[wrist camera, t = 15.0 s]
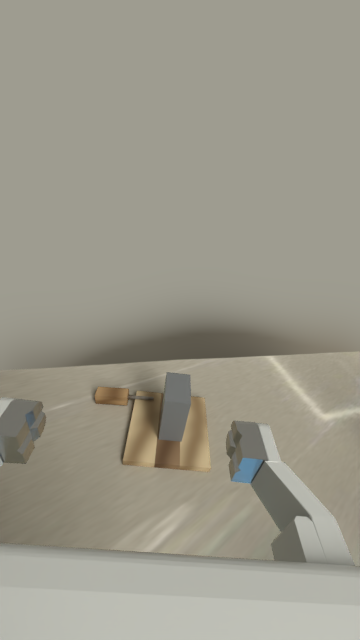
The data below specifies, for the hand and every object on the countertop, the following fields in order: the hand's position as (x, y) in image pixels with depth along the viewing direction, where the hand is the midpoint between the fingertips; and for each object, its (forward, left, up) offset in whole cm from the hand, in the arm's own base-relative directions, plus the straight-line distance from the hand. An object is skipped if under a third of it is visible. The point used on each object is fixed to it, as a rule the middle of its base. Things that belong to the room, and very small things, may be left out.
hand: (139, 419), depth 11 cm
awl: (-5, +26, -32) cm, 41 cm away
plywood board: (+4, +21, -32) cm, 39 cm away
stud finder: (+4, +21, -31) cm, 38 cm away
